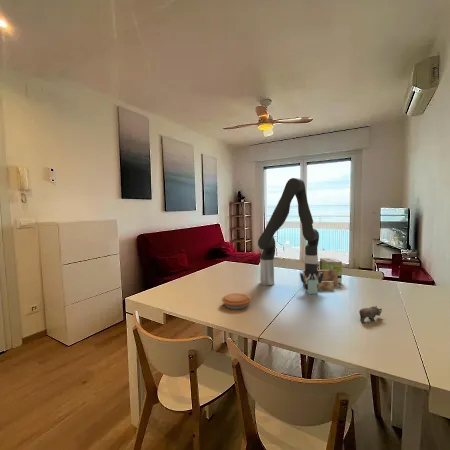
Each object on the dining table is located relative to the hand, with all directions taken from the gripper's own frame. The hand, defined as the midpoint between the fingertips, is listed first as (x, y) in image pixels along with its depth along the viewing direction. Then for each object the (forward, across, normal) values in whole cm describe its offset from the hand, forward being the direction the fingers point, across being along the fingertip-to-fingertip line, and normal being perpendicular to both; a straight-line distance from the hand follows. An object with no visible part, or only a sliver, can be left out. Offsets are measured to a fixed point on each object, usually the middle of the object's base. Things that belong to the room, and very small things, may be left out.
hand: (311, 289), depth 153 cm
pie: (+2, -46, -19) cm, 50 cm away
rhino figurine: (+2, +15, -38) cm, 41 cm away
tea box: (+2, +21, +25) cm, 33 cm away
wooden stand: (+2, +10, +9) cm, 14 cm away
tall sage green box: (+1, 0, 0) cm, 1 cm away
